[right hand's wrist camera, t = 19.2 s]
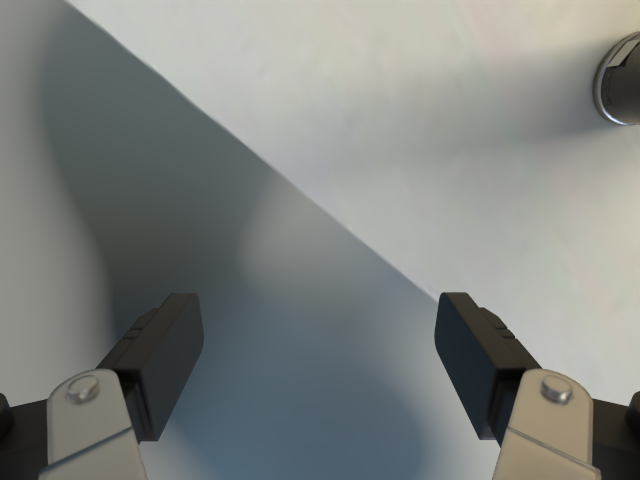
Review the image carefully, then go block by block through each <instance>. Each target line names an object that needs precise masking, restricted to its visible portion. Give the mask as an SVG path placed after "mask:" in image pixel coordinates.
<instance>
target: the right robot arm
mask: <svg viewBox="0 0 640 480" xmlns="http://www.w3.org/2000/svg"><path fill="white" fill-rule="evenodd" d="M593 96H594V102H595V105H596V108H597V110H598V111H599V113H600V114H601V115H602V116H603V117H604V118H605V119H606V120H608V121H610V122H612V123H615V124H621V125H638V124H639V125H640V32H637V33H634V34H632V35H630V36H628V37H627V38H625V39H623V40H622V41H621V42H619V43H618V44H617V45H616V46H615V47H614V48H613V49H612V50H611V51H610V52H609V53H608V55H607V56H606V57H605V59H604V60H603V62H602V63H601V65H600V67H599V69H598V72H597V74H596V77H595V81H594V87H593ZM203 341H204V332H203V325H202V318H201V311H200V304H199V298H198V296H197V294H196V293H171V294H170V295H169V296H168V298H167V299H166V300H165V301H164V303H163V304H162V305H161V306H160V308H154V309H152V310H150V311H149V312H147V313H146V314H144V315H143V316H141V317H140V318H139V319H138V320H137V321H136V322H135V323H134V325H133V326H132V327H131V328H130V330H128V331H127V333H126V334H125V335H124V336H123V338H122V340H120V341H119V342H118V343H117V344H116V345H115V346H114V348H113V349H112V350H111V351H110V352H109V353H108V355H107V356H106V357H105V358H104V359H103V360H102V362H101V363H100V364H99V365H98V366H97V367H96V369H93V370H89V371H85V372H82V373H79V374H77V375H75V376H73V377H71V378H69V379H67V380H66V381H64V382H63V383H61V384H60V385H59V386H58V387H57V388H55V389H54V391H53V392H52V393H51V394H50V396H49V398H48V399H45V400H41V401H36V402H32V403H28V404H23V405H19V406H15V407H10V406H9V404H8V402H7V399H6V397H5V396H4V395H3V394H2V393H0V480H148V477H147V474H146V470H145V467H144V463H143V460H142V457H141V453H140V450H139V444H140V442H141V441H158V440H159V438H160V436H161V434H162V431H163V429H164V427H165V425H166V423H167V421H168V419H169V417H170V415H171V413H172V411H173V409H174V407H175V405H176V403H177V401H178V399H179V397H180V395H181V392H182V390H183V388H184V386H185V384H186V382H187V380H188V378H189V376H190V374H191V372H192V370H193V368H194V366H195V364H196V362H197V360H198V357H199V356H200V353H201V351H202V348H203ZM435 346H436V350H437V352H438V354H439V356H440V359H441V361H442V363H443V365H444V367H445V369H446V371H447V373H448V375H449V377H450V379H451V381H452V384H453V386H454V388H455V390H456V392H457V394H458V396H459V398H460V400H461V402H462V404H463V406H464V408H465V411H466V413H467V415H468V417H469V419H470V421H471V423H472V425H473V427H474V429H475V431H476V433H477V435H478V438H479V439H480V440H497V442H498V444H499V446H500V448H501V450H500V453H499V456H498V460H497V463H496V467H495V470H494V474H493V477H492V480H640V391H639V392H636V393H635V394H634V395H633V397H632V399H631V402H630V404H629V407H628V406H624V405H619V404H615V403H610V402H606V401H602V400H597V399H593V398H591V396H590V394H589V393H588V392H587V391H586V389H585V388H583V387H582V386H581V385H580V384H579V383H577V382H576V381H574V380H573V379H571V378H569V377H567V376H565V375H563V374H561V373H558V372H555V371H552V370H547V369H542V367H541V366H540V365H539V364H538V363H537V362H536V360H535V359H534V358H533V357H532V356H531V354H530V353H529V352H528V351H527V350H526V349H525V347H524V346H523V345H522V344H521V343H520V342H519V340H518V339H515V336H514V335H513V333H512V332H511V331H510V330H508V329H507V326H506V325H505V324H504V323H503V322H502V321H501V319H500V318H499V317H498V316H496V315H495V314H493V313H492V312H490V311H489V310H487V309H485V308H479V307H478V306H477V305H476V303H475V302H474V301H473V300H472V298H471V297H470V296H469V295H468V294H467V293H465V292H443V293H442V294H441V295H440V299H439V305H438V312H437V320H436V326H435Z"/></svg>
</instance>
